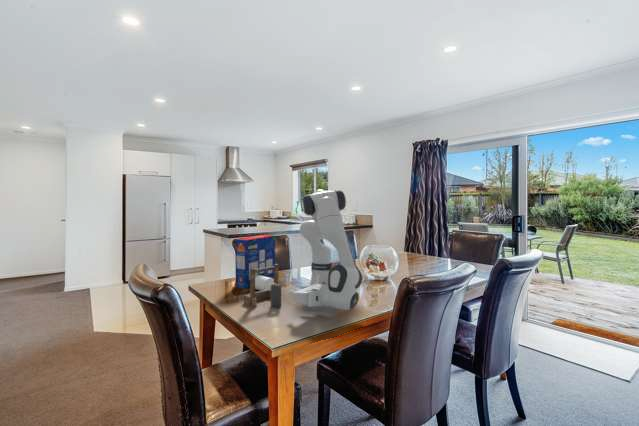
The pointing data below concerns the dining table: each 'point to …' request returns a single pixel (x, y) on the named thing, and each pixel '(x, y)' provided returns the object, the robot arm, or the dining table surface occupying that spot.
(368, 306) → the dining table surface
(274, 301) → the grey corked bottle
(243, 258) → the pasta box
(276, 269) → the wooden rack frame
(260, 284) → the mug
